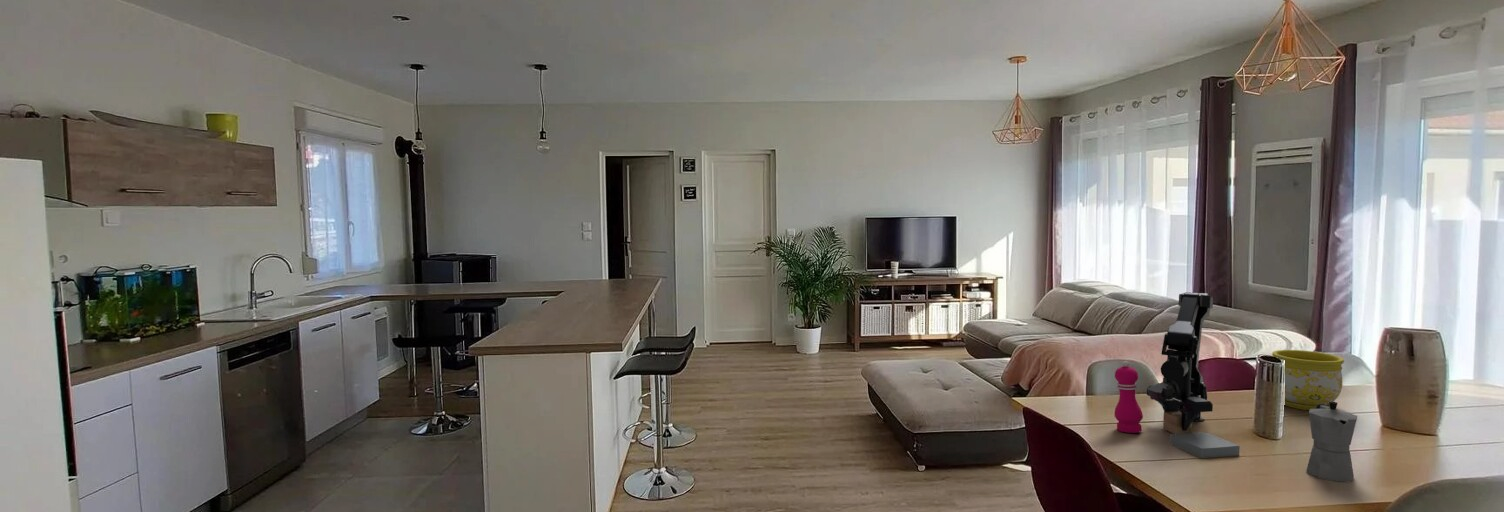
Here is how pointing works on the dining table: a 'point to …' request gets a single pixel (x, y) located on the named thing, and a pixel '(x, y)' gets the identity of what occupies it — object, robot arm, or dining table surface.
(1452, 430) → the dining table surface
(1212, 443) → the slate plinth
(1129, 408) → the pepper mill
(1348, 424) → the coffeepot
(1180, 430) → the walnut cube
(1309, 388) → the flowerpot
